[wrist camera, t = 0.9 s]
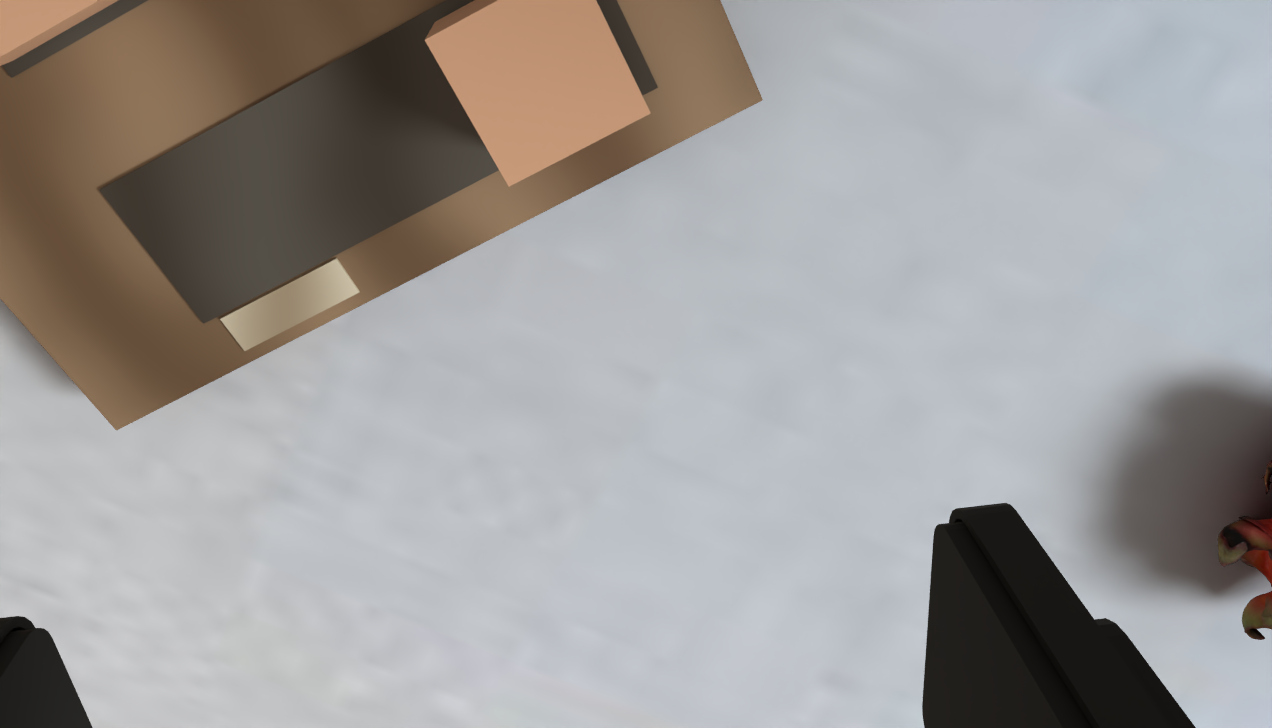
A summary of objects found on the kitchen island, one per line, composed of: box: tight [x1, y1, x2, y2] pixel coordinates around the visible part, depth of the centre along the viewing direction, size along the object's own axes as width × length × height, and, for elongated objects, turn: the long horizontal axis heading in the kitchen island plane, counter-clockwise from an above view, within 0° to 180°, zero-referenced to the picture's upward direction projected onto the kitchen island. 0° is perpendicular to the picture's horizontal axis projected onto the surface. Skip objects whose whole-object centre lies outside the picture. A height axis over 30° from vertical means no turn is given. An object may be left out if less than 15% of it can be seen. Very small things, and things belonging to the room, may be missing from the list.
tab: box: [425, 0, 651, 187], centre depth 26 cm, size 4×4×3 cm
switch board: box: [0, 0, 762, 430], centre depth 27 cm, size 22×16×2 cm
